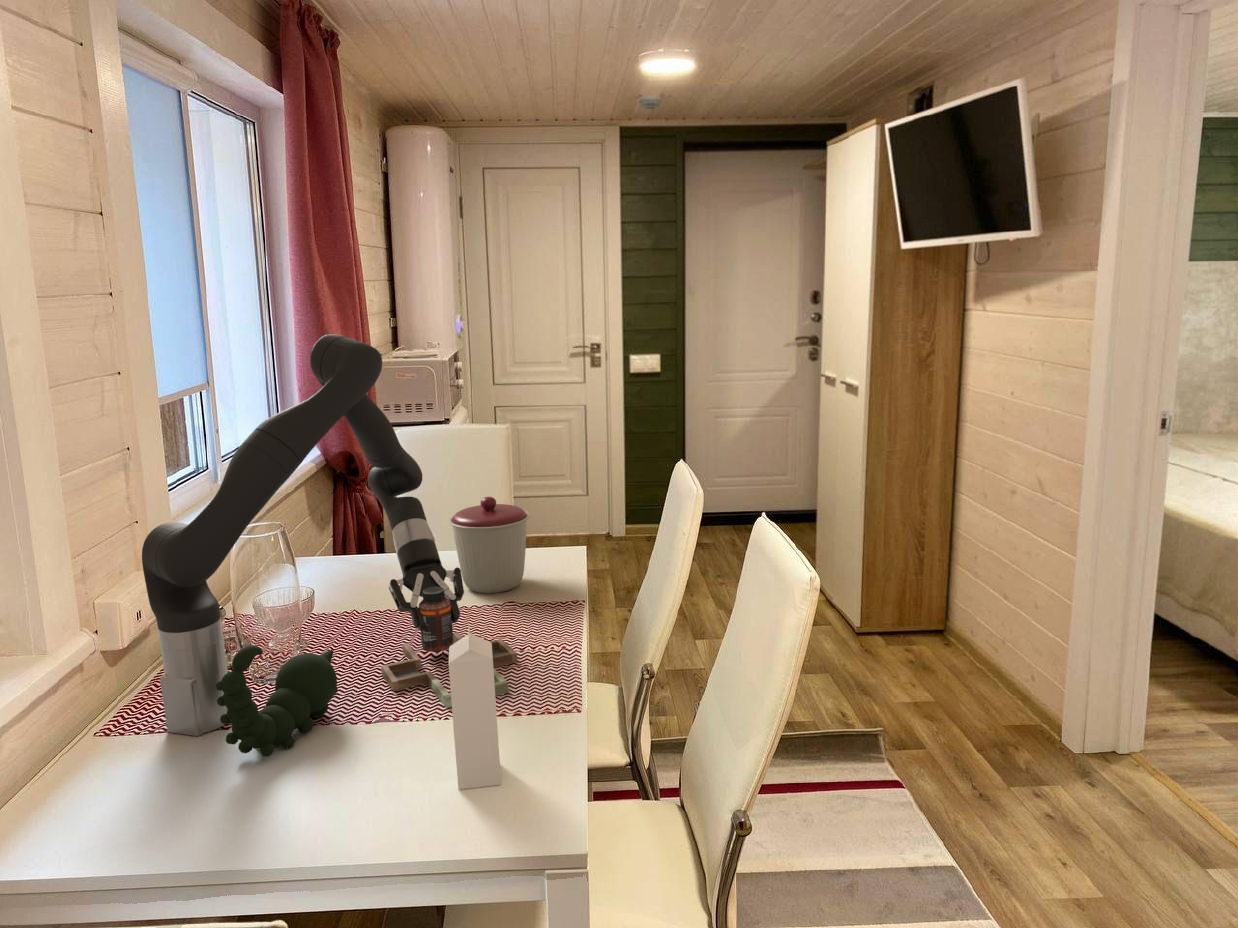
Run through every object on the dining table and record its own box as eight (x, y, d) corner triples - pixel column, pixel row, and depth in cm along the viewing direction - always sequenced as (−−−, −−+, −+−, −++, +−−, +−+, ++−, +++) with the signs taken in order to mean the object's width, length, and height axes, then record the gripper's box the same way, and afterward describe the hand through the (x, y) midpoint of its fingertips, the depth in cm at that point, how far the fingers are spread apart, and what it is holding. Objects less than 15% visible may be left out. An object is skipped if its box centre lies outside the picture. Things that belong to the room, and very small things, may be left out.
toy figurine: (270, 785, 136) (363, 696, 159) (247, 669, 131) (347, 594, 153) (217, 777, 139) (316, 691, 162) (192, 663, 133) (298, 590, 156)
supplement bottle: (457, 640, 179) (453, 584, 176) (449, 653, 173) (445, 595, 170) (427, 640, 179) (422, 584, 177) (417, 653, 173) (413, 595, 171)
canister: (543, 591, 209) (538, 500, 205) (463, 604, 203) (456, 510, 199) (521, 569, 226) (516, 484, 221) (446, 580, 219) (440, 493, 215)
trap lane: (371, 659, 175) (370, 650, 175) (487, 634, 186) (486, 625, 185) (410, 716, 152) (409, 706, 152) (541, 683, 162) (540, 674, 162)
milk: (499, 763, 136) (491, 621, 132) (501, 785, 131) (492, 636, 126) (457, 768, 136) (447, 624, 131) (457, 790, 130) (446, 640, 125)
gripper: (448, 551, 187) (471, 625, 179) (376, 563, 181) (397, 641, 173) (454, 531, 182) (479, 607, 174) (380, 543, 175) (403, 623, 167)
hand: (438, 624), depth 173 cm, fingers closed on supplement bottle, 6 cm apart
